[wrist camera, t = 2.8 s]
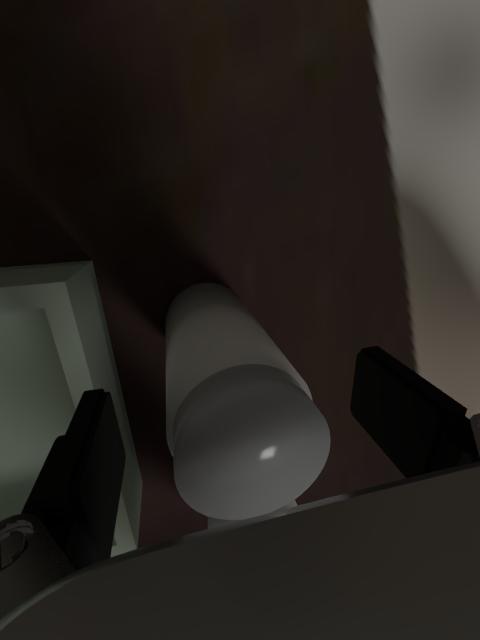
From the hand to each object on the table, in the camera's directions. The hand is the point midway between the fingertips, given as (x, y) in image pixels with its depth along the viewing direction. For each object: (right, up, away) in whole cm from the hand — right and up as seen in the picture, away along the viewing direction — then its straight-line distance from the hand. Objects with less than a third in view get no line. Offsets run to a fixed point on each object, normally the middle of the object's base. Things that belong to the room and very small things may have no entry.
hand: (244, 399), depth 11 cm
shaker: (-2, +3, +8) cm, 9 cm away
